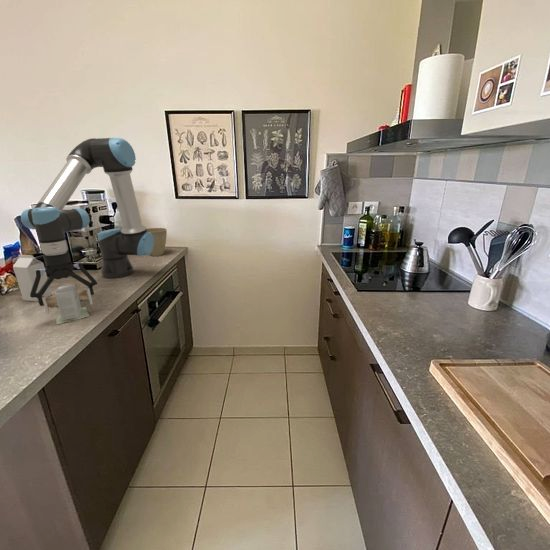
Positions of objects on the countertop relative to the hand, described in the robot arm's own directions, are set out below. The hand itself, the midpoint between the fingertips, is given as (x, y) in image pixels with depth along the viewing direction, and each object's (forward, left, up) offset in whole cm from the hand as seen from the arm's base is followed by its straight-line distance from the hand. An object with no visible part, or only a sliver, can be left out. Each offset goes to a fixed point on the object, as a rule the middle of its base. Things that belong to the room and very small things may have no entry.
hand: (70, 308), depth 112 cm
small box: (0, 0, -3) cm, 3 cm away
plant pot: (-52, -67, -3) cm, 85 cm away
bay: (0, -5, -3) cm, 6 cm away
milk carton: (+10, -29, -3) cm, 31 cm away
